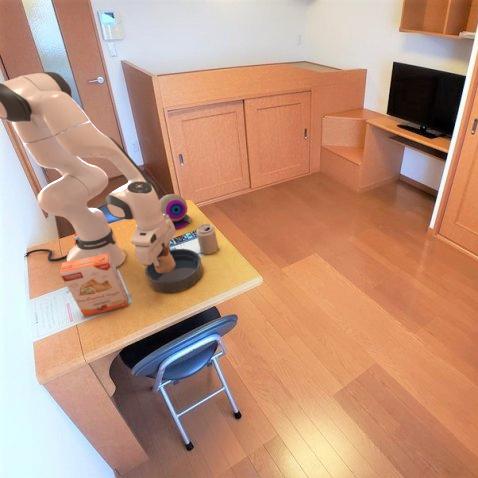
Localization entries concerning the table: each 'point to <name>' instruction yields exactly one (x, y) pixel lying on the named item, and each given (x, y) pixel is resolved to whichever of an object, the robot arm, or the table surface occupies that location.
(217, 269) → the table surface
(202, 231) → the can
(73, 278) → the cracker box
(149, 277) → the bowl
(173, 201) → the webcam
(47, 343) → the table surface
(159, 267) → the figurine
